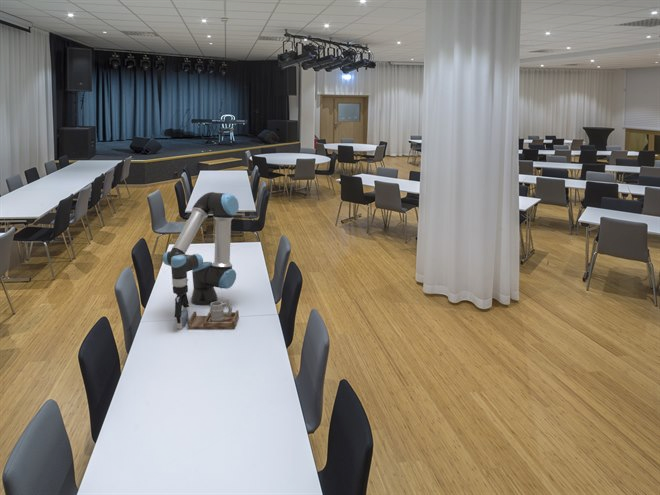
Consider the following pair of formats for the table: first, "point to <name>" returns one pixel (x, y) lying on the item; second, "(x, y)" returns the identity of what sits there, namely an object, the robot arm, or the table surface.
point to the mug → (219, 311)
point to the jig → (206, 323)
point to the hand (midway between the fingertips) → (182, 323)
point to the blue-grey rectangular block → (184, 317)
